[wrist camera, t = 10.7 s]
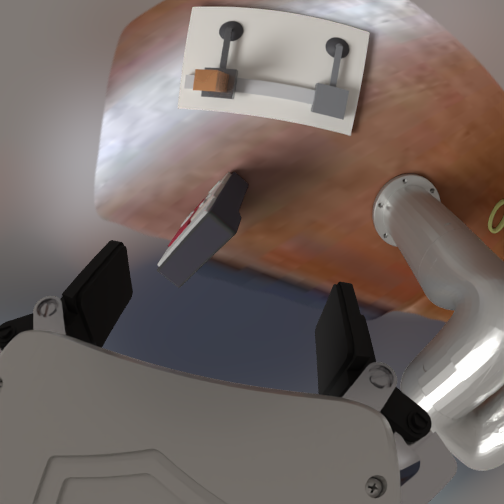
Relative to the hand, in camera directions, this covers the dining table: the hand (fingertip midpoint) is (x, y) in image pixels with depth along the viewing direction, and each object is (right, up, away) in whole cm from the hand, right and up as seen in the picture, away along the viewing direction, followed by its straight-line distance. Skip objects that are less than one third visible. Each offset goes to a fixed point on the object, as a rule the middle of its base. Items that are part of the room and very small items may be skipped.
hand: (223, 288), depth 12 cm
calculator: (-4, +10, +31) cm, 32 cm away
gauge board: (+4, +27, +19) cm, 33 cm away
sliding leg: (-2, +26, +17) cm, 31 cm away
